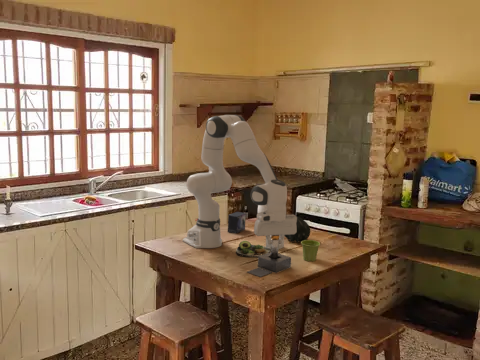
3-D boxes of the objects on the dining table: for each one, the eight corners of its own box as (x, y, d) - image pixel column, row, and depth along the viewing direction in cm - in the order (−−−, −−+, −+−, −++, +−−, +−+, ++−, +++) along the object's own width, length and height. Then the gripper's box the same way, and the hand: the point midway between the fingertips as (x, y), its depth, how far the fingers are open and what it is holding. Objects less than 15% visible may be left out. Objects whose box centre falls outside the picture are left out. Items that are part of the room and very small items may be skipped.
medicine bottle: (273, 244, 260) (274, 223, 258) (284, 247, 256) (285, 225, 254) (265, 247, 255) (266, 225, 253) (276, 250, 250) (277, 228, 248)
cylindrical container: (271, 258, 223) (272, 236, 221) (268, 256, 226) (270, 233, 224) (279, 258, 224) (280, 235, 222) (276, 255, 227) (277, 233, 225)
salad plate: (275, 249, 254) (276, 240, 253) (272, 260, 236) (272, 251, 236) (239, 246, 257) (239, 237, 256) (233, 257, 239) (234, 248, 239)
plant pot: (323, 260, 238) (324, 243, 236) (311, 264, 231) (312, 246, 230) (308, 255, 244) (309, 238, 243) (296, 259, 238) (297, 242, 236)
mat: (247, 272, 218) (247, 271, 218) (258, 268, 224) (258, 267, 224) (260, 277, 213) (260, 276, 212) (271, 272, 218) (271, 272, 218)
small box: (236, 234, 278) (237, 216, 276) (227, 232, 281) (227, 214, 279) (245, 230, 287) (246, 212, 285) (236, 228, 290) (236, 211, 288)
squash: (301, 225, 279) (289, 208, 272) (319, 233, 267) (306, 215, 260) (286, 243, 276) (273, 227, 268) (303, 252, 264) (290, 234, 256)
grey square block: (257, 266, 225) (258, 256, 225) (272, 261, 233) (273, 251, 232) (275, 273, 218) (276, 262, 217) (290, 267, 226) (291, 257, 225)
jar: (277, 225, 300) (278, 201, 297) (265, 227, 293) (266, 203, 290) (265, 221, 307) (265, 198, 305) (253, 224, 300) (254, 200, 297)
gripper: (294, 212, 227) (292, 240, 230) (253, 214, 221) (252, 242, 224) (299, 216, 221) (297, 244, 224) (257, 217, 216) (256, 247, 218)
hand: (274, 243), depth 224 cm, fingers closed on cylindrical container, 4 cm apart
